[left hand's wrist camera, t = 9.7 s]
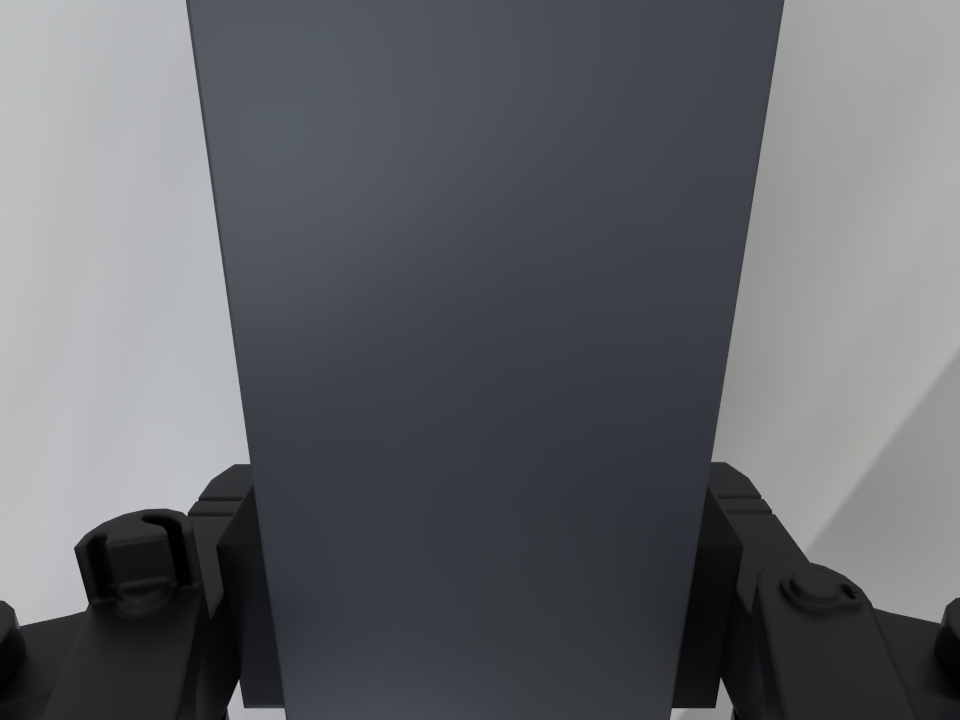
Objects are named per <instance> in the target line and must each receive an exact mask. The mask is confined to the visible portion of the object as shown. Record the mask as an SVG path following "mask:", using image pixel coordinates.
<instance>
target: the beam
mask: <svg viewBox="0 0 960 720" xmlns="http://www.w3.org/2000/svg"><path fill="white" fill-rule="evenodd" d="M186 4H187V12H188V19H189V26H190V33H191V40H192V47H193V55H194V62H195V69H196V76H197V83H198V90H199V98H200V105H201V112H202V119H203V126H204V133H205V141H206V148H207V155H208V162H209V169H210V176H211V184H212V191H213V198H214V205H215V212H216V219H217V227H218V234H219V241H220V248H221V255H222V262H223V270H224V277H225V284H226V291H227V298H228V305H229V313H230V320H231V327H232V334H233V341H234V349H235V356H236V363H237V370H238V377H239V384H240V392H241V399H242V406H243V413H244V420H245V427H246V435H247V442H248V449H249V456H250V463H251V470H252V478H253V485H254V492H255V499H256V506H257V513H258V521H259V528H260V535H261V542H262V549H263V556H264V564H265V571H266V578H267V585H268V592H269V599H270V607H271V614H272V621H273V628H274V635H275V642H276V650H277V657H278V664H279V671H280V678H281V685H282V693H283V700H284V707H285V714H286V720H670V716H671V710H672V703H673V697H674V691H675V684H676V678H677V672H678V666H679V659H680V653H681V647H682V640H683V634H684V628H685V622H686V615H687V609H688V603H689V596H690V590H691V584H692V578H693V571H694V565H695V559H696V553H697V546H698V540H699V534H700V527H701V521H702V515H703V509H704V502H705V496H706V490H707V483H708V477H709V471H710V465H711V458H712V452H713V446H714V439H715V433H716V427H717V421H718V414H719V408H720V402H721V395H722V389H723V383H724V377H725V370H726V364H727V358H728V351H729V345H730V339H731V333H732V326H733V320H734V314H735V307H736V301H737V295H738V289H739V282H740V276H741V270H742V263H743V257H744V251H745V245H746V238H747V232H748V226H749V219H750V213H751V207H752V201H753V194H754V188H755V182H756V176H757V169H758V163H759V157H760V150H761V144H762V138H763V132H764V125H765V119H766V113H767V106H768V100H769V94H770V88H771V81H772V75H773V69H774V62H775V56H776V50H777V44H778V37H779V31H780V25H781V18H782V12H783V6H784V0H186Z"/></svg>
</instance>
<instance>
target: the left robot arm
mask: <svg viewBox="0 0 960 720" xmlns="http://www.w3.org/2000/svg"><path fill="white" fill-rule="evenodd" d="M74 550H75V554H76V557H77V561H78V565H79V569H80V572H81V576H82V580H83V583H84V587H85V591H86V594H87V598H88V602H89V605H88V607H87V610H86V611H84V612H80V613H77V614H73V615H70V616H65V617H60V618H56V619H51V620H47V621H42V622H38V623H33V624H28V625H24V626H19V623H18V620H17V617H16V614H15V611H14V609H13V608H12V607H11V606H10V605H8V604H7V603H6V602H5V601H0V720H229V715H228V710H227V707H228V704H229V702H230V699H231V697H232V695H233V692H234V690H235V688H236V685H237V683H238V680H239V681H240V687H241V692H242V698H243V704H244V708H285V707H284V700H283V693H282V685H281V678H280V671H279V664H278V657H277V650H276V642H275V635H274V628H273V621H272V614H271V607H270V599H269V592H268V585H267V578H266V571H265V564H264V556H263V549H262V542H261V535H260V528H259V521H258V513H257V506H256V499H255V492H254V485H253V478H252V470H251V464H234V465H233V466H231V467H230V468H228V469H227V470H225V471H224V472H222V473H221V474H220V475H218V476H217V477H215V478H214V479H212V480H211V481H210V483H209V484H208V486H207V487H206V488H205V490H204V491H203V493H202V494H201V495H200V497H199V501H196V502H195V504H194V505H193V506H192V508H191V509H190V511H189V512H188V516H186V515H185V514H184V513H182V512H179V511H174V510H170V509H145V510H141V511H136V512H132V513H128V514H124V515H121V516H119V517H116V518H114V519H112V520H109V521H107V522H104V523H102V524H101V525H99V526H98V527H96V528H95V529H93V530H92V531H90V532H89V533H87V534H86V535H85V536H84V537H83V538H82V539H81V540H80V542H79V543H78V544H77V545H76V546H75V548H74ZM720 678H722V681H723V683H724V685H725V688H726V690H727V693H728V695H729V697H730V700H731V702H732V704H733V710H732V715H731V720H960V598H956V599H955V600H953V601H952V602H951V603H950V604H948V605H947V606H946V609H945V612H944V615H943V618H942V621H941V624H940V623H935V622H930V621H926V620H921V619H917V618H912V617H908V616H903V615H898V614H894V613H889V612H886V611H882V610H879V609H875V608H873V606H872V604H871V602H870V601H869V599H868V598H867V596H866V595H865V594H864V592H863V591H862V589H861V588H860V587H858V586H857V585H856V584H854V583H853V582H852V581H851V580H849V579H848V578H847V577H845V576H844V575H842V574H840V573H837V572H835V571H833V570H831V569H829V568H827V567H825V566H822V565H818V564H814V563H810V562H809V561H808V559H807V558H806V557H805V555H804V554H803V552H802V551H801V550H800V548H799V547H798V546H797V544H796V543H795V541H794V540H793V539H792V537H791V536H790V535H789V533H788V532H787V530H786V529H785V528H784V526H783V525H782V524H781V522H780V521H779V519H778V518H777V517H776V515H775V514H772V510H771V508H770V507H769V506H768V504H767V503H766V502H765V500H764V499H761V495H760V493H759V492H758V491H757V489H756V488H755V486H754V485H753V484H752V482H751V481H750V480H749V478H748V477H746V476H745V475H743V474H742V473H740V472H739V471H737V470H736V469H735V468H733V467H732V466H730V465H729V464H727V463H726V462H711V465H710V471H709V477H708V483H707V490H706V496H705V502H704V509H703V515H702V521H701V527H700V534H699V540H698V546H697V553H696V559H695V565H694V571H693V578H692V584H691V590H690V596H689V603H688V609H687V615H686V622H685V628H684V634H683V640H682V647H681V653H680V659H679V666H678V672H677V678H676V684H675V691H674V697H673V703H672V708H715V707H716V701H717V695H718V690H719V684H720Z"/></svg>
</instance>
